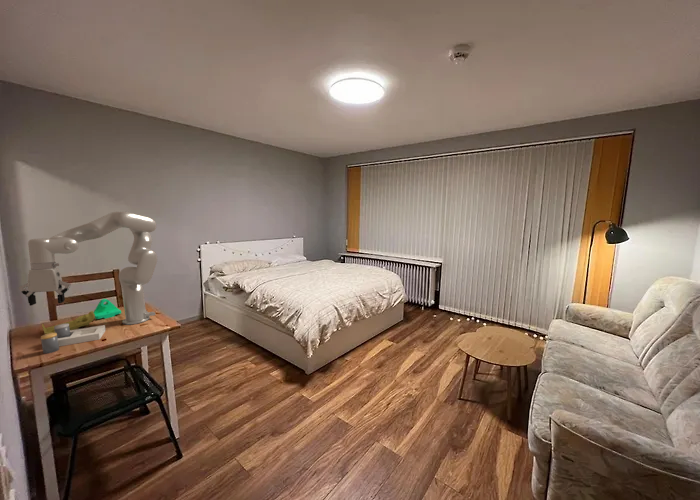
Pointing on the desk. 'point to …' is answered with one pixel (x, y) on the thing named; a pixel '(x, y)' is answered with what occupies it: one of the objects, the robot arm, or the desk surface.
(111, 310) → the camera mount
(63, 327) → the grey cylinder
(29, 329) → the desk surface
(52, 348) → the gray jar
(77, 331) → the tray
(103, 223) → the robot arm
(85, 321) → the plastic component
